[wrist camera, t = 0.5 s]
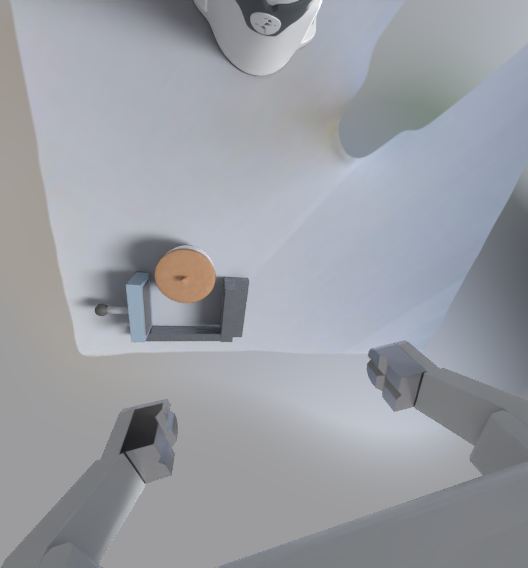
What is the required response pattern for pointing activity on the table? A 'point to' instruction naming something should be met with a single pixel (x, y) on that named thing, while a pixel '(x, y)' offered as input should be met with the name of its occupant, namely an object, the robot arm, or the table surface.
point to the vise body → (229, 319)
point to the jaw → (134, 307)
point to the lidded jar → (185, 274)
